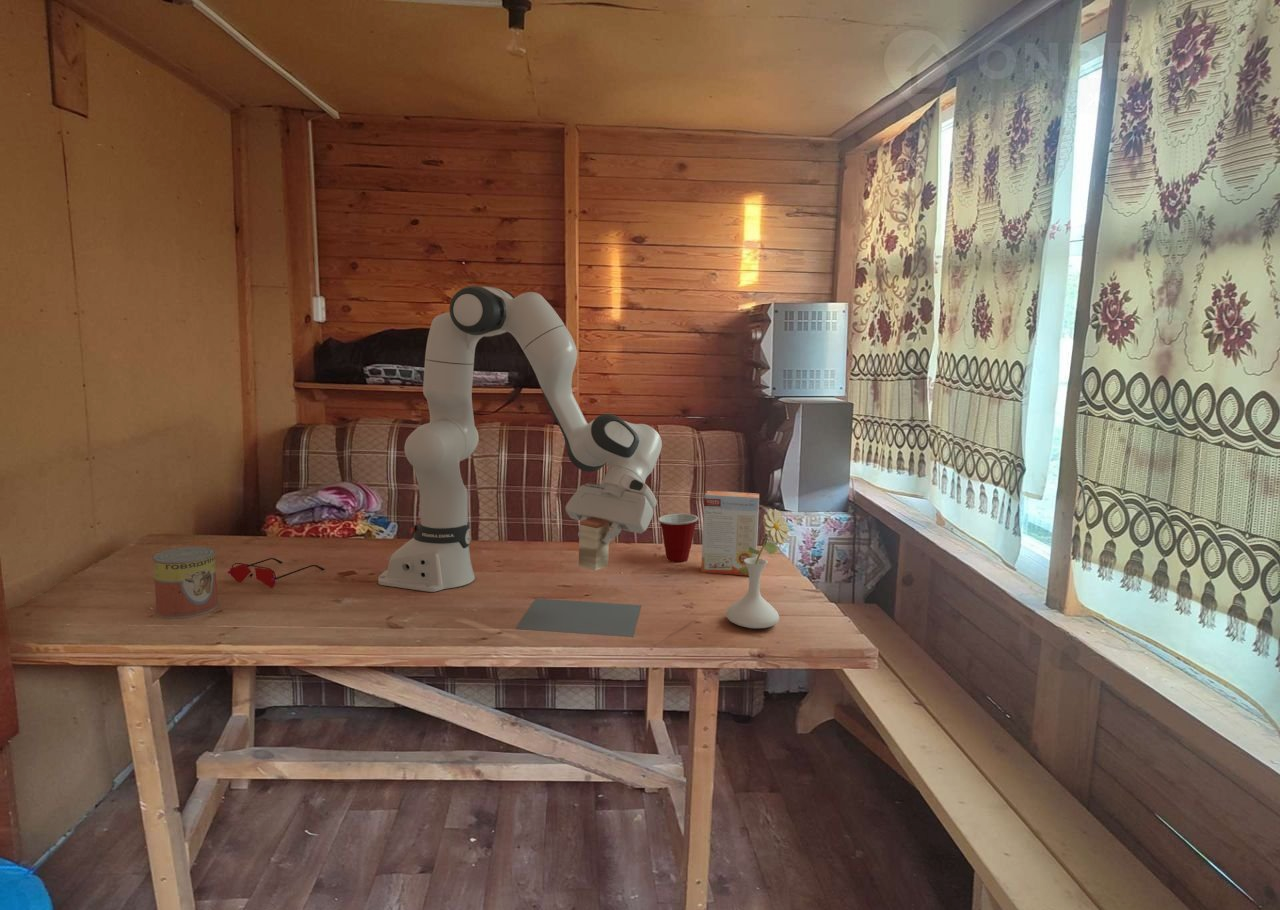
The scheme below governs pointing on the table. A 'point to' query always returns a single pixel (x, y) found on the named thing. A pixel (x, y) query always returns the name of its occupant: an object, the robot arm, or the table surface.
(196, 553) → the canned food
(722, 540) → the cracker box
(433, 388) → the robot arm
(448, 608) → the table surface
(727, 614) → the flower in vase
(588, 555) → the birch block
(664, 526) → the plastic cup
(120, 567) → the table surface
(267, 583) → the glasses
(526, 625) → the slate mat
